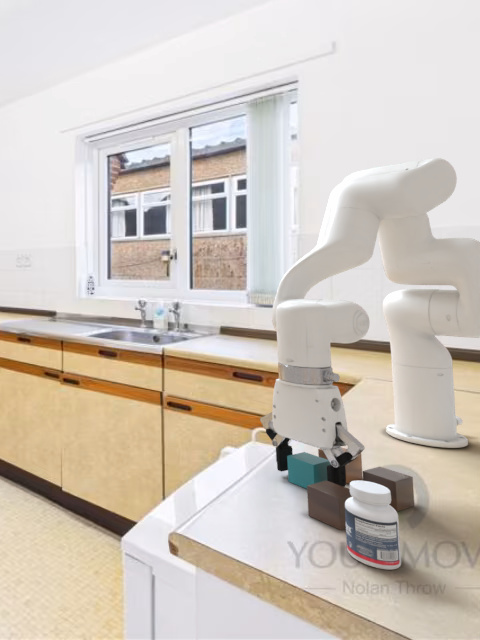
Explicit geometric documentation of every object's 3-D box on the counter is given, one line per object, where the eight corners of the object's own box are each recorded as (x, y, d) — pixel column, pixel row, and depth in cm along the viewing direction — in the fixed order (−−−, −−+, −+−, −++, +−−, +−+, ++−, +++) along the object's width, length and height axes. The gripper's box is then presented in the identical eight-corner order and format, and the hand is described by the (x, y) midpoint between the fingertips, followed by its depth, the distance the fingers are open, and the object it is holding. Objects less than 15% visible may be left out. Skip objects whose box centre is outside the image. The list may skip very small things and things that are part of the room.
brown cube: (327, 509, 73) (326, 480, 73) (360, 523, 68) (358, 492, 69) (308, 515, 71) (306, 485, 71) (340, 530, 67) (338, 498, 67)
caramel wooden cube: (335, 469, 87) (334, 445, 87) (362, 479, 83) (361, 453, 83) (319, 473, 85) (318, 448, 86) (346, 483, 81) (344, 457, 81)
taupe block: (381, 494, 77) (379, 466, 77) (414, 506, 73) (413, 476, 73) (363, 499, 76) (362, 470, 76) (397, 511, 72) (395, 481, 72)
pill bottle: (350, 541, 64) (347, 474, 64) (403, 557, 60) (399, 486, 61) (343, 558, 60) (339, 486, 61) (398, 576, 57) (394, 500, 57)
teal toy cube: (305, 477, 84) (304, 451, 84) (332, 487, 80) (331, 460, 80) (288, 481, 82) (287, 455, 83) (314, 492, 78) (313, 465, 79)
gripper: (377, 383, 75) (383, 496, 74) (271, 364, 91) (276, 457, 91) (346, 388, 72) (352, 506, 72) (243, 368, 89) (247, 464, 88)
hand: (309, 478), depth 81 cm, fingers open, 7 cm apart
